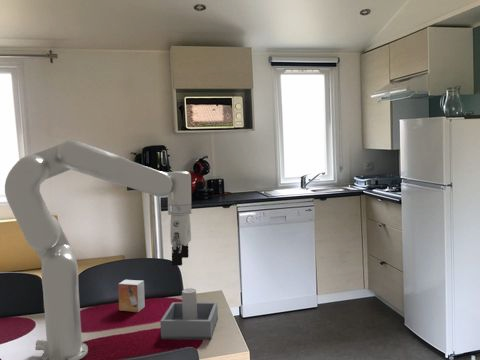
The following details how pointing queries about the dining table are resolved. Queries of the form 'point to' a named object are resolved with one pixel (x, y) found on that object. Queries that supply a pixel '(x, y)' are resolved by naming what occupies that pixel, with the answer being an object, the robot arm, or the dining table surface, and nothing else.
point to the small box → (131, 295)
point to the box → (189, 322)
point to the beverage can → (189, 304)
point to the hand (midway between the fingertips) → (180, 261)
